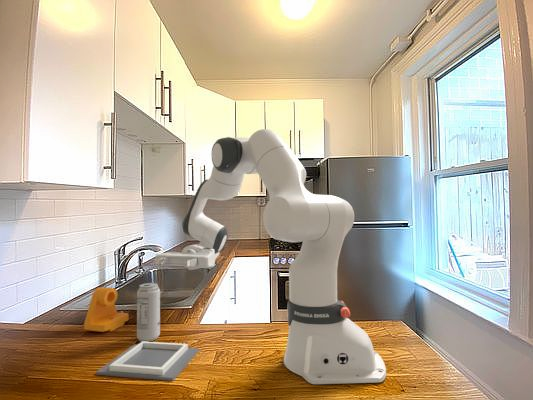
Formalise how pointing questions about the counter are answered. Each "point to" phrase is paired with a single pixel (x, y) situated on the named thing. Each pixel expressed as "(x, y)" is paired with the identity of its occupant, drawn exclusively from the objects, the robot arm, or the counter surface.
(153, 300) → the energy drink can
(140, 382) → the counter surface
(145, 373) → the framed grey tray
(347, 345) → the robot arm
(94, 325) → the bracket
